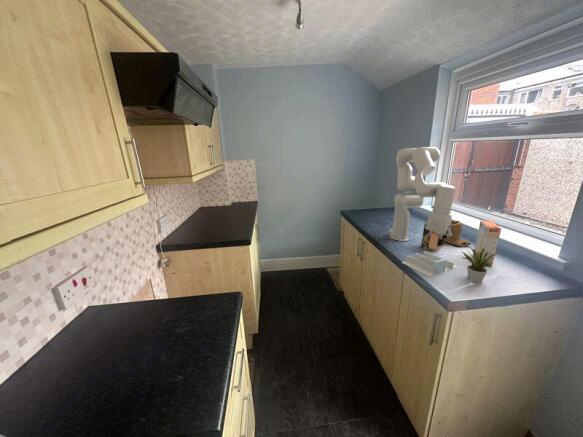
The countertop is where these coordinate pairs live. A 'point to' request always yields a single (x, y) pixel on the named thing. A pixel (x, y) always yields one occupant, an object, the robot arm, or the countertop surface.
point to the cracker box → (487, 239)
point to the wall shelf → (429, 263)
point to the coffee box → (426, 240)
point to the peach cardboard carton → (434, 241)
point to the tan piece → (456, 235)
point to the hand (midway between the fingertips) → (435, 243)
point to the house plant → (478, 265)
